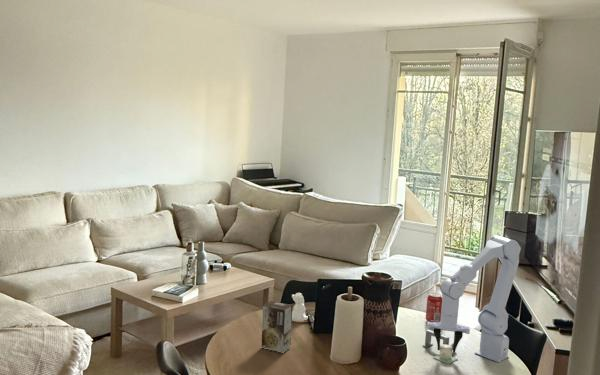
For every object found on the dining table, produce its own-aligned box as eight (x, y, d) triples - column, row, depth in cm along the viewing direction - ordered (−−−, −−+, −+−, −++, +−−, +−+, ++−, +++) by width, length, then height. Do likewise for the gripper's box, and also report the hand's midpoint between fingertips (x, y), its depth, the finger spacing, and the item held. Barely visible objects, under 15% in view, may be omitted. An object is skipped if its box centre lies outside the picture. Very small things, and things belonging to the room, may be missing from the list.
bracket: (450, 351, 204) (451, 336, 203) (443, 354, 201) (444, 338, 200) (429, 343, 210) (430, 328, 210) (422, 346, 207) (423, 331, 206)
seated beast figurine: (315, 321, 227) (316, 293, 225) (300, 326, 221) (302, 297, 219) (298, 315, 233) (300, 288, 232) (284, 320, 227) (285, 291, 226)
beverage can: (439, 320, 237) (441, 293, 236) (441, 325, 231) (444, 297, 229) (424, 318, 238) (426, 291, 236) (426, 324, 231) (428, 296, 230)
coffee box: (291, 348, 199) (293, 304, 197) (283, 354, 193) (285, 310, 192) (268, 342, 203) (271, 300, 201) (260, 348, 197) (262, 305, 195)
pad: (457, 359, 197) (457, 358, 197) (448, 364, 193) (448, 363, 193) (442, 354, 201) (442, 353, 201) (433, 358, 197) (433, 357, 197)
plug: (459, 351, 204) (460, 341, 204) (448, 361, 194) (449, 350, 193) (448, 348, 206) (449, 338, 206) (436, 358, 196) (437, 347, 196)
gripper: (469, 312, 197) (466, 348, 199) (428, 307, 200) (425, 343, 202) (471, 318, 191) (468, 356, 192) (428, 313, 193) (425, 350, 195)
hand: (446, 350), depth 197 cm, fingers open, 5 cm apart
